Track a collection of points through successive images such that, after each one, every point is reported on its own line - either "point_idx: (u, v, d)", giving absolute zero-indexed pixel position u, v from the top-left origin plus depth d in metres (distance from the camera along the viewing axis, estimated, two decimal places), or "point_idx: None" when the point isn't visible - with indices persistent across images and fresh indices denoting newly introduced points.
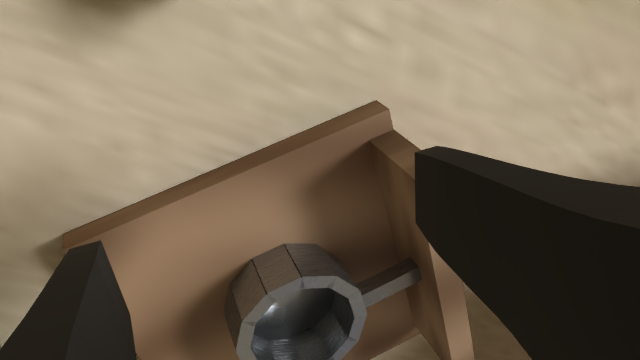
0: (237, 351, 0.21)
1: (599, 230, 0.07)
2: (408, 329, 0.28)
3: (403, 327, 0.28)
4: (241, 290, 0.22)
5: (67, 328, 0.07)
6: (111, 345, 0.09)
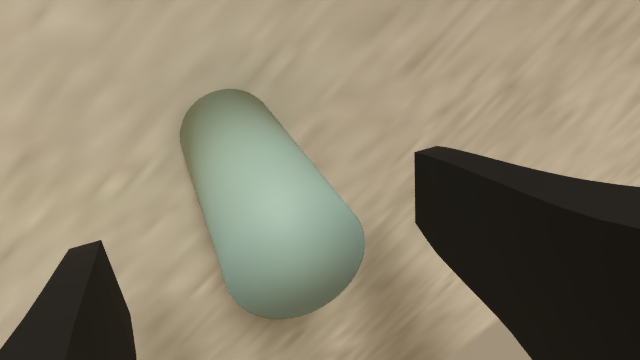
0: None
1: (599, 230, 0.07)
2: None
3: None
4: None
5: (67, 328, 0.07)
6: (111, 345, 0.09)
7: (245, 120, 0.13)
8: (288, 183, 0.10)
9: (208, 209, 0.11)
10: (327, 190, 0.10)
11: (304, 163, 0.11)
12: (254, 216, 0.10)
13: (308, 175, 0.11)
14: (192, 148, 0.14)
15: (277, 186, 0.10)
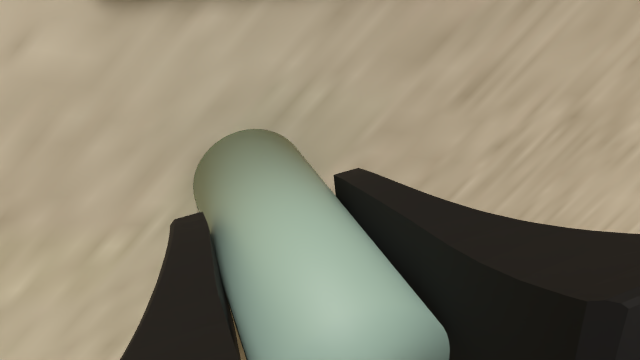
0: None
1: (480, 274, 0.07)
2: None
3: None
4: None
5: (209, 283, 0.08)
6: (226, 307, 0.09)
7: (279, 177, 0.10)
8: (352, 284, 0.07)
9: (238, 306, 0.09)
10: (403, 292, 0.08)
11: (364, 244, 0.09)
12: (310, 340, 0.07)
13: (374, 268, 0.08)
14: (211, 209, 0.11)
15: (337, 289, 0.07)
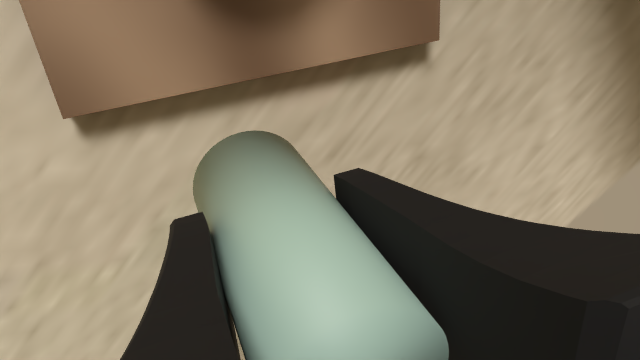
0: None
1: (480, 273, 0.07)
2: None
3: None
4: None
5: (209, 283, 0.08)
6: (226, 307, 0.09)
7: (279, 178, 0.10)
8: (352, 286, 0.07)
9: (237, 307, 0.09)
10: (403, 294, 0.08)
11: (364, 247, 0.09)
12: (310, 341, 0.07)
13: (374, 270, 0.08)
14: (211, 211, 0.11)
15: (337, 291, 0.07)
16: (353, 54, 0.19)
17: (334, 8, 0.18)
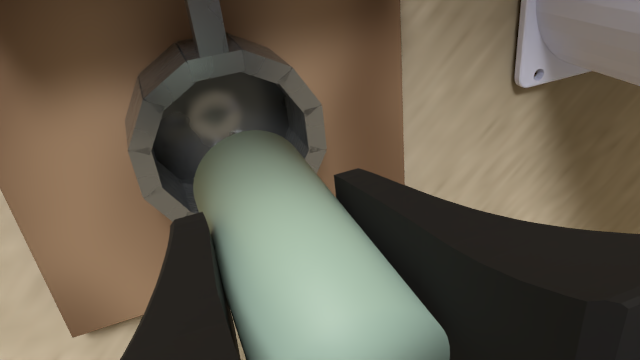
0: None
1: (480, 273, 0.07)
2: None
3: None
4: None
5: (209, 283, 0.08)
6: (226, 307, 0.09)
7: (281, 178, 0.10)
8: (355, 286, 0.07)
9: (239, 306, 0.09)
10: (406, 295, 0.08)
11: (366, 247, 0.09)
12: (313, 341, 0.07)
13: (377, 270, 0.08)
14: (212, 209, 0.11)
15: (340, 291, 0.07)
16: None
17: None
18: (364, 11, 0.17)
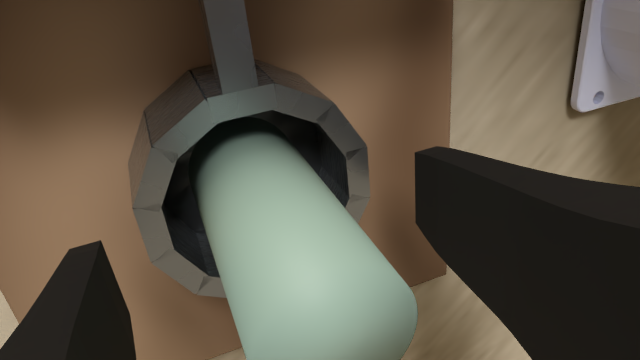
0: None
1: (599, 231, 0.07)
2: None
3: None
4: None
5: (67, 328, 0.07)
6: (111, 345, 0.09)
7: (268, 158, 0.11)
8: (330, 249, 0.08)
9: (227, 271, 0.09)
10: (376, 257, 0.08)
11: (343, 218, 0.10)
12: (290, 294, 0.08)
13: (351, 236, 0.09)
14: (204, 188, 0.12)
15: (316, 253, 0.08)
16: None
17: None
18: (411, 30, 0.15)
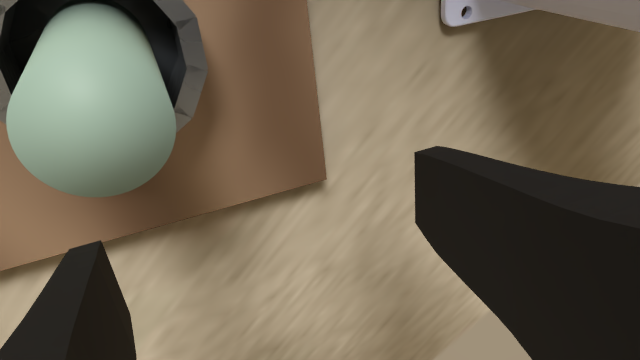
0: None
1: (599, 230, 0.07)
2: None
3: None
4: None
5: (67, 328, 0.07)
6: (111, 345, 0.09)
7: (87, 12, 0.13)
8: (84, 44, 0.10)
9: None
10: (129, 55, 0.10)
11: (123, 40, 0.11)
12: (33, 68, 0.09)
13: (115, 44, 0.10)
14: None
15: (70, 45, 0.10)
16: (239, 200, 0.20)
17: (214, 165, 0.19)
18: None
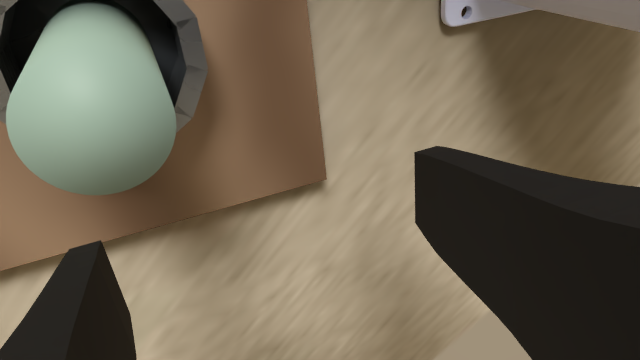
0: None
1: (599, 230, 0.07)
2: None
3: None
4: None
5: (67, 328, 0.07)
6: (111, 345, 0.09)
7: (88, 11, 0.13)
8: (84, 41, 0.10)
9: None
10: (129, 53, 0.10)
11: (123, 38, 0.11)
12: (33, 65, 0.09)
13: (116, 42, 0.10)
14: None
15: (70, 42, 0.10)
16: (239, 200, 0.20)
17: (214, 165, 0.19)
18: None
